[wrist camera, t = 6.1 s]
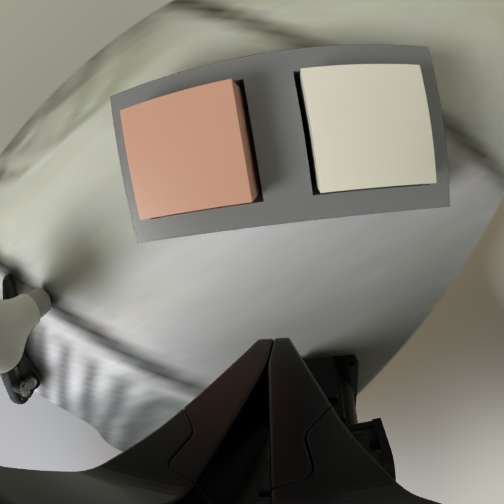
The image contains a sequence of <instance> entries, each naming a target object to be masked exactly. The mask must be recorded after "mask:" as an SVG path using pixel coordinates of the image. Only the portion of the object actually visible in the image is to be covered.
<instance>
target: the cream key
mask: <svg viewBox="0 0 504 504" xmlns="http://www.w3.org/2000/svg"><path fill="white" fill-rule="evenodd" d="M300 93H301V99H302V104H303V110H304V116H305V121H306V127H307V134H308V140H309V146H310V153H311V160H312V167H313V174H314V182H315V184H316V186H317V188H318V189H319V191H320V193H326V192H335V191H345V190H355V189H365V188H376V187H388V186H401V185H414V184H429V183H437V181H436V167H435V156H434V146H433V137H432V129H431V122H430V116H429V109H428V104H427V98H426V93H425V87H424V83H423V78H422V73H421V69H420V65H413V64H351V65H333V66H321V67H310V68H301V69H300Z"/></svg>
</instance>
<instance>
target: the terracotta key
mask: <svg viewBox="0 0 504 504" xmlns="http://www.w3.org/2000/svg"><path fill="white" fill-rule="evenodd" d="M120 115H121V122H122V129H123V135H124V142H125V148H126V153H127V159H128V165H129V170H130V175H131V181H132V186H133V190H134V195H135V200H136V205H137V209H138V214H139V218H140V220H144V219H149V218H155V217H161V216H166V215H172V214H178V213H184V212H190V211H196V210H203V209H209V208H216V207H222V206H229V205H236V204H243V203H250V202H253V200H254V199H255V198H256V197H257V196H258V194H259V193H260V192H261V191H262V187H261V181H260V175H259V169H258V163H257V156H256V150H255V144H254V138H253V132H252V127H251V121H250V115H249V109H248V103H247V97H246V94H245V93H244V92H243V90H242V89H241V88H240V87H239V86H238V85H237V84H236V83H235V82H234V81H233V80H232V79H227V80H222V81H218V82H213V83H209V84H205V85H201V86H197V87H193V88H189V89H185V90H182V91H178V92H175V93H171V94H168V95H164V96H161V97H158V98H155V99H152V100H148V101H145V102H142V103H139V104H136V105H134V106H131V107H128V108H125V109H122V110H120Z"/></svg>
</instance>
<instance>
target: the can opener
mask: <svg viewBox="0 0 504 504" xmlns="http://www.w3.org/2000/svg"><path fill="white" fill-rule="evenodd" d="M2 286H3V300H6V299H11V298H14V297H16V296H17V294H16V289H15V284H14V281H13V279H12V278H11V277H10V276H8V275H6V276H5V277H4V279H3V285H2ZM0 377H2V380H3V383H4V385H5V387H6V390H7V392H8V394H9V396H10V399H11V400H12V401H13V402H14V403H17V404H24V403H25V402H26V401H28V398H30V397H31V395H32V394H33V392H34V390H35V389H36V388H38V387H39V385H40V383H41V380H40V377H39V374H38V373H37V371H36V370H35V368H34V367H33V365H32V364H31V363H30V361H29V360H28V359H27V358H26V356H25V354H24V351H23V354H22V357H21V359H20V361H19V362H18V364H17V365H16V366H15V367H14V368H13V369H11V370H9V371H8V372H5V373H0Z"/></svg>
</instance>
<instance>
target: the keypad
mask: <svg viewBox="0 0 504 504" xmlns="http://www.w3.org/2000/svg"><path fill="white" fill-rule="evenodd" d="M351 64H413V65H420V69H421V73H422V78H423V83H424V87H425V93H426V98H427V104H428V109H429V116H430V122H431V129H432V137H433V146H434V156H435V167H436V181H437V183H429V184H414V185H401V186H388V187H376V188H365V189H355V190H345V191H335V192H326V193H320V191H319V189H318V188H317V186H316V185H315V186H312V185H311V178H310V171H309V163H308V157H307V150H306V143H305V137H304V131H303V125H302V119H301V113H300V107H299V102H298V96H297V91H296V87H300V69H301V68H310V67H321V66H333V65H351ZM227 79H232V80H233V81H234V82H235V83H236V84H237V85H238V86H239V87H240V88H241V89H242V90H243V92H244V93H245V94H246V97H247V103H248V109H249V115H250V121H251V127H252V132H253V138H254V144H255V150H256V156H257V163H258V169H259V175H260V181H261V187H262V192H260V193H259V194H258V196H257V197H256V198H255V199H254V200H253V202H250V203H243V204H236V205H229V206H222V207H216V208H209V209H203V210H196V211H190V212H184V213H178V214H172V215H166V216H161V217H155V218H149V219H144V220H140V218H139V214H138V209H137V205H136V200H135V195H134V190H133V186H132V181H131V175H130V170H129V165H128V159H127V153H126V148H125V142H124V135H123V129H122V122H121V115H120V110H122V109H125V108H128V107H131V106H134V105H136V104H139V103H142V102H145V101H148V100H152V99H155V98H158V97H161V96H164V95H168V94H171V93H175V92H178V91H182V90H185V89H189V88H193V87H197V86H201V85H205V84H209V83H213V82H218V81H222V80H227ZM110 99H111V107H112V115H113V122H114V129H115V136H116V142H117V148H118V154H119V160H120V165H121V171H122V176H123V181H124V186H125V191H126V196H127V200H128V205H129V209H130V214H131V218H132V223H133V227H134V231H135V235H136V239H137V243H141V242H147V241H154V240H161V239H168V238H175V237H183V236H190V235H197V234H205V233H212V232H220V231H227V230H235V229H243V228H251V227H259V226H267V225H275V224H283V223H292V222H301V221H309V220H318V219H327V218H336V217H346V216H355V215H365V214H375V213H385V212H395V211H405V210H416V209H427V208H439V207H450V194H449V173H448V160H447V149H446V140H445V132H444V124H443V117H442V111H441V105H440V99H439V94H438V89H437V84H436V79H435V74H434V70H433V66H432V61H431V57H430V54H429V50H428V47H423V46H409V45H382V44H362V45H335V46H320V47H309V48H299V49H291V50H283V51H276V52H269V53H263V54H257V55H251V56H246V57H241V58H236V59H231V60H226V61H222V62H217V63H213V64H209V65H205V66H201V67H197V68H193V69H190V70H186V71H183V72H179V73H176V74H172V75H169V76H166V77H163V78H160V79H156V80H153V81H150V82H148V83H145V84H142V85H139V86H136V87H133V88H131V89H128V90H125V91H123V92H120V93H118V94H115V95H113V96H110Z"/></svg>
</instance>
